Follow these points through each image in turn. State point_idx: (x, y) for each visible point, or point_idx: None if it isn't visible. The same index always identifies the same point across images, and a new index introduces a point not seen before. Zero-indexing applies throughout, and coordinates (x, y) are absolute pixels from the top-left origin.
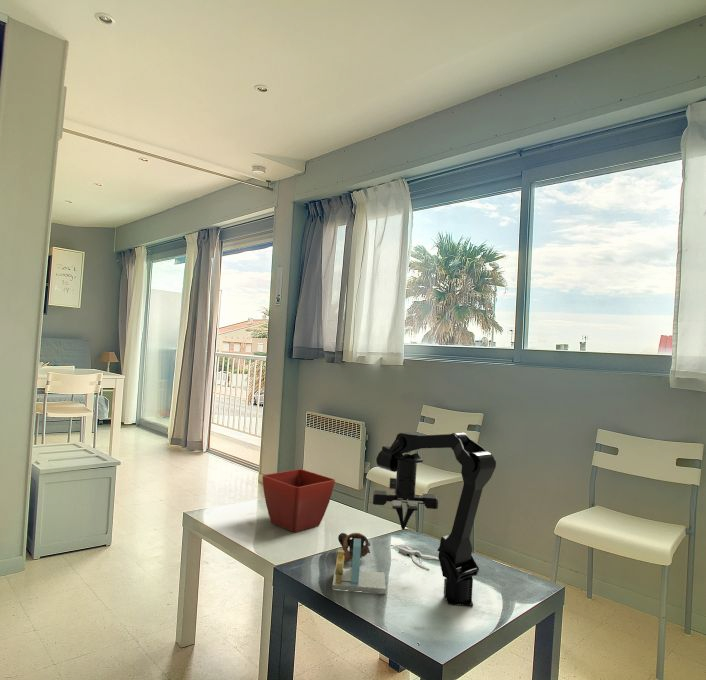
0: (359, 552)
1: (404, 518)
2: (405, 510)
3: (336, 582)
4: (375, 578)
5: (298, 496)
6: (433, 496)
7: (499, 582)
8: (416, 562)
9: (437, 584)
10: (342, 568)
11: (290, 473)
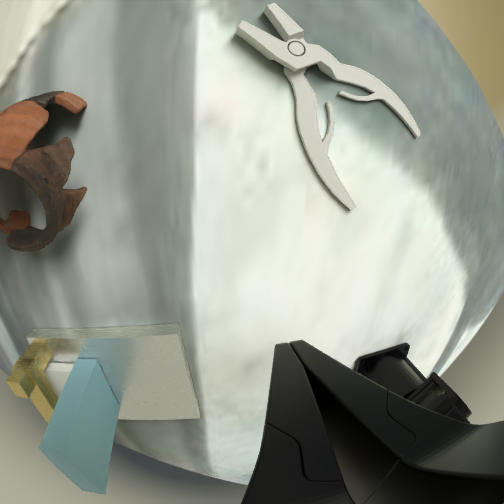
0: (104, 478)
1: (330, 441)
2: (391, 478)
3: None
4: (156, 378)
5: None
6: None
7: (483, 247)
8: (312, 151)
9: (355, 313)
10: None
11: None
